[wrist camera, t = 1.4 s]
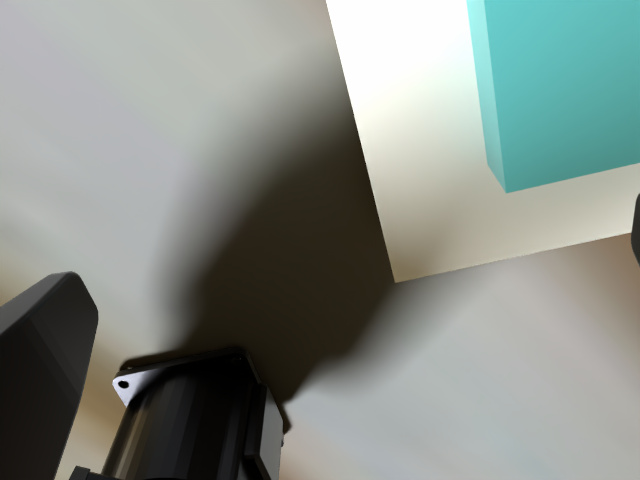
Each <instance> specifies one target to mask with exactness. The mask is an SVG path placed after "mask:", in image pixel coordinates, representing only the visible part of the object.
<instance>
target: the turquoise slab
mask: <svg viewBox="0 0 640 480" xmlns="http://www.w3.org/2000/svg"><path fill="white" fill-rule="evenodd" d="M466 2H467V10H468V17H469V25H470V33H471V41H472V48H473V56H474V64H475V71H476V79H477V87H478V95H479V102H480V110H481V118H482V126H483V133H484V141H485V149H486V157H487V164H488V166H489V168H490V169H491V171H492V172H493V174H494V175H495V177H496V179H497V180H498V182H499V183H500V185H501V186H502V188H503V189H504V191H505V193H511V192H515V191H519V190H524V189H528V188H532V187H537V186H541V185H545V184H550V183H554V182H558V181H563V180H567V179H571V178H576V177H580V176H585V175H589V174H593V173H598V172H602V171H606V170H611V169H615V168H619V167H624V166H628V165H632V164H637V163H640V0H466Z"/></svg>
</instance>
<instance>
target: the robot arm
mask: <svg viewBox="0 0 640 480" xmlns="http://www.w3.org/2000/svg"><path fill="white" fill-rule="evenodd" d="M631 245H632V250H633V253H634V255H635V257H636V260H637V262H638V264H639V267H640V193H639V194H638V196H637V198H636V203H635V210H634V217H633V225H632V232H631ZM97 325H98V310H97V307H96V305H95V303H94V301H93V299H92V297H91V296H90V294H89V292H88V290H87V288H86V286H85V285H84V283H83V281H82V279H81V277H80V276H79V275H78V274H77V273H75V272H72V271H70V272H62V273H55V274H51V275H48V276H47V277H45V278H44V279H42V280H41V281H39V282H38V283H36V284H35V285H33V286H31V287H30V288H28V289H27V290H25V291H24V292H22V293H21V294H19V295H18V296H16V297H15V298H13V299H12V300H10V301H9V302H7V303H5V304H4V305H2V306H1V307H0V480H54V479H55V476H56V473H57V470H58V467H59V464H60V461H61V458H62V455H63V452H64V449H65V446H66V443H67V440H68V437H69V434H70V431H71V428H72V425H73V422H74V419H75V416H76V413H77V410H78V407H79V403H80V400H81V396H82V392H83V389H84V384H85V380H86V375H87V371H88V366H89V362H90V357H91V352H92V348H93V343H94V339H95V334H96V329H97ZM234 357H239V358H241V359H240V360H237V359H234ZM122 380H123V381H122ZM124 381H127V382H124ZM113 386H114V388H115V390H116V391H117V393H118V395H119V396H120V398H121V399H122V401H123V403H124V404H125V406H126V410H125V413H124V415H123V418H122V421H121V423H120V426H119V428H118V431H117V433H116V436H115V438H114V441H113V443H112V446H111V448H110V451H109V454H108V456H107V459H106V461H105V464H104V466H103V469H102V471H101V474H98V473H94V472H90V469H88V468H84V467H80V466H76V467H75V469H74V471H73V473H72V475H71V476H70V478H69V480H279V467H280V454H281V447H283V444H284V434H283V432H282V429H283V420H282V418H281V415H280V413H279V411H278V408H277V406H276V404H275V401H274V399H273V396H272V394H271V392H270V389H269V387H268V386H267V385H266V384H264V383H261V381H260V379H259V376H258V374H257V372H256V369H255V367H254V365H253V362H252V360H251V358H250V356H249V353H248V352H247V350H245V349H244V348H241V347H233V348H228V349H223V350H218V351H213V352H209V353H204V354H199V355H194V356H189V357H185V358H180V359H175V360H170V361H165V362H160V363H156V364H151V365H146V366H141V367H136V368H132V369H127V370H122V371H119V372H118V373H117V374H116V375H115V378H114V380H113Z"/></svg>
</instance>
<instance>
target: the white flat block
mask: <svg viewBox="0 0 640 480" xmlns="http://www.w3.org/2000/svg"><path fill="white" fill-rule="evenodd" d="M326 2H327V6H328V10H329V14H330V18H331V22H332V26H333V30H334V35H335V39H336V43H337V47H338V51H339V55H340V59H341V63H342V67H343V71H344V76H345V80H346V84H347V88H348V92H349V96H350V100H351V104H352V108H353V112H354V117H355V121H356V125H357V129H358V133H359V137H360V141H361V145H362V149H363V153H364V158H365V162H366V166H367V170H368V174H369V178H370V182H371V186H372V190H373V194H374V199H375V203H376V207H377V211H378V215H379V219H380V223H381V227H382V231H383V235H384V240H385V244H386V248H387V252H388V256H389V260H390V264H391V268H392V272H393V276H394V281H395V283H398V282H402V281H407V280H412V279H416V278H421V277H425V276H430V275H435V274H439V273H444V272H449V271H453V270H458V269H463V268H467V267H472V266H477V265H481V264H486V263H491V262H495V261H500V260H505V259H509V258H514V257H519V256H523V255H528V254H532V253H537V252H542V251H546V250H551V249H556V248H560V247H565V246H570V245H574V244H579V243H584V242H588V241H593V240H598V239H602V238H607V237H612V236H616V235H621V234H626V233H630V232H632V225H633V217H634V210H635V203H636V198H637V196H638V194H639V193H640V163H637V164H632V165H628V166H624V167H619V168H615V169H611V170H606V171H602V172H598V173H593V174H589V175H585V176H580V177H576V178H571V179H567V180H563V181H558V182H554V183H550V184H545V185H541V186H537V187H532V188H528V189H524V190H519V191H515V192H511V193H505V191H504V189H503V188H502V186H501V185H500V183H499V182H498V180H497V179H496V177H495V175H494V174H493V172H492V171H491V169H490V168H489V166H488V164H487V157H486V149H485V141H484V133H483V126H482V118H481V110H480V102H479V95H478V87H477V79H476V71H475V64H474V56H473V48H472V41H471V33H470V25H469V17H468V10H467V2H466V0H326Z"/></svg>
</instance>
